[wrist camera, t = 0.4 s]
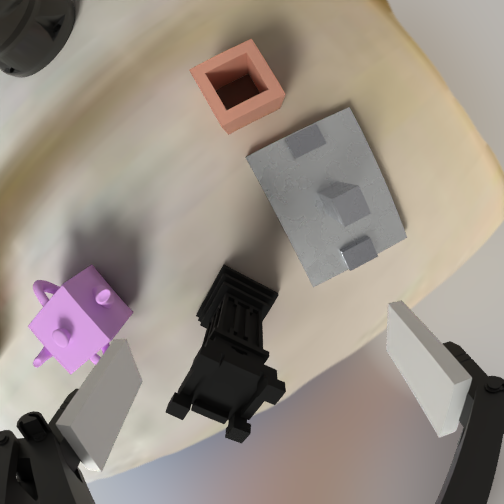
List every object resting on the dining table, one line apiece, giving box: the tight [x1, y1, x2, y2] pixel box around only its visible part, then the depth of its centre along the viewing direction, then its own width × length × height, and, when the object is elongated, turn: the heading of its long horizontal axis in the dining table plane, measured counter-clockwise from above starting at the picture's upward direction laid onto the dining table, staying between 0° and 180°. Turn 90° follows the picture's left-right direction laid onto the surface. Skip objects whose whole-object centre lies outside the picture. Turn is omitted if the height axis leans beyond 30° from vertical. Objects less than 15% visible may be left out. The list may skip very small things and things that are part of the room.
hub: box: [189, 39, 286, 135], centre depth 32 cm, size 7×7×8 cm
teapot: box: [28, 265, 133, 374], centre depth 38 cm, size 15×13×11 cm
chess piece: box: [166, 265, 286, 443], centre depth 33 cm, size 8×8×20 cm
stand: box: [246, 107, 407, 287], centre depth 34 cm, size 18×14×10 cm
